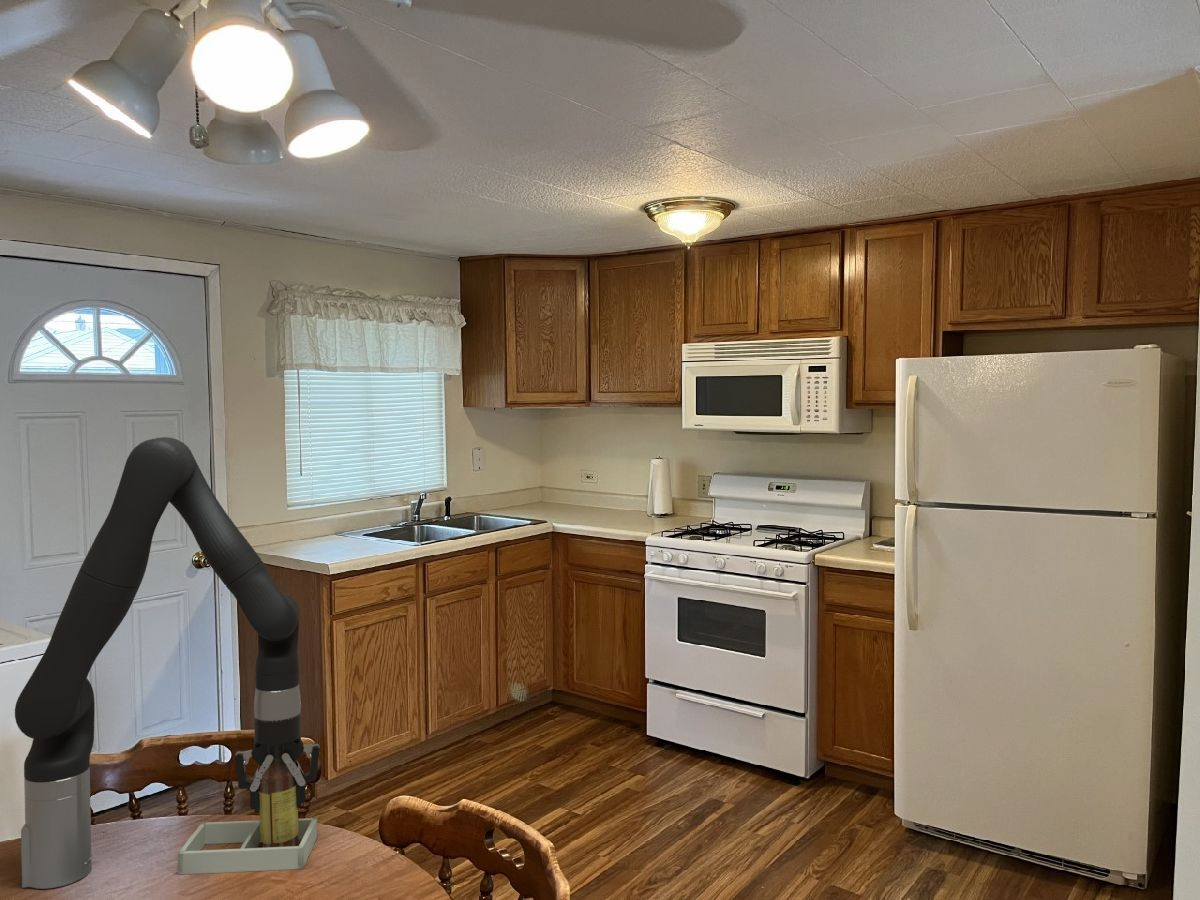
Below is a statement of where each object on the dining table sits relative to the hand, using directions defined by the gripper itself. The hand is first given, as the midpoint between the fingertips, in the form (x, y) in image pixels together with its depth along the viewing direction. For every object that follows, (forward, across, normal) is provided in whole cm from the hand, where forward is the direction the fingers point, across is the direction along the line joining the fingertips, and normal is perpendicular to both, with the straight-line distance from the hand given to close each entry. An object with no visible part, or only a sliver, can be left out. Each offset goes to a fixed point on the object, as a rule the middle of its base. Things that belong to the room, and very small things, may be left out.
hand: (278, 807), depth 156 cm
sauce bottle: (+7, 0, 0) cm, 7 cm away
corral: (+8, -5, +1) cm, 9 cm away
